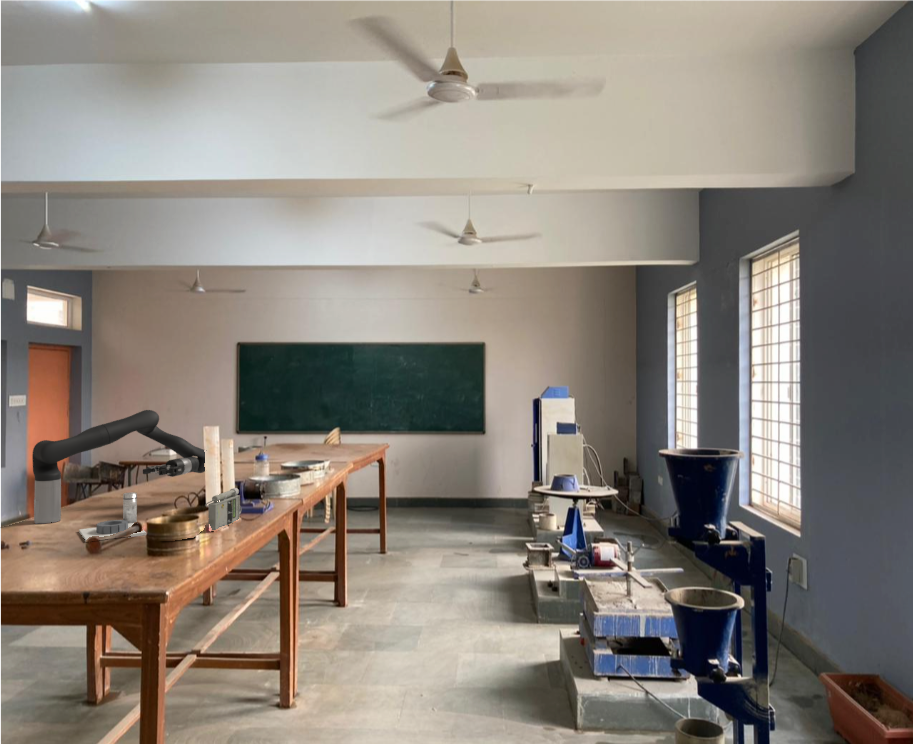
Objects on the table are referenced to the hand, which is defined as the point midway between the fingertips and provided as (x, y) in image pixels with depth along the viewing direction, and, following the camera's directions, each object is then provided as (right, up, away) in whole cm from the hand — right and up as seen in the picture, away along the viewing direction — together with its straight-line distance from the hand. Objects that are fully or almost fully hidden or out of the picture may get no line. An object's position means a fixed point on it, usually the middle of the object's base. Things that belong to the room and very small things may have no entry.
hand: (151, 472), depth 284 cm
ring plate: (-1, -19, -29) cm, 35 cm away
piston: (-4, -19, -11) cm, 22 cm away
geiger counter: (+37, -19, -14) cm, 44 cm away
